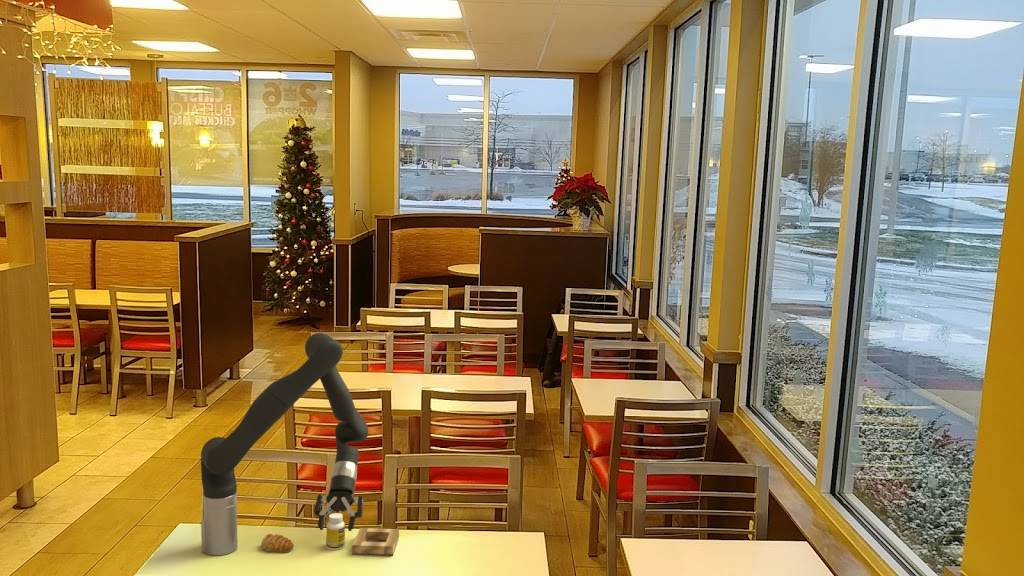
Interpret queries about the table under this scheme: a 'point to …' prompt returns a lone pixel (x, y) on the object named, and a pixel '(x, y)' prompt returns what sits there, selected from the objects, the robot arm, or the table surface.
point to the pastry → (277, 544)
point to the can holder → (375, 542)
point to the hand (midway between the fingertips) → (335, 529)
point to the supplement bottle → (335, 532)
